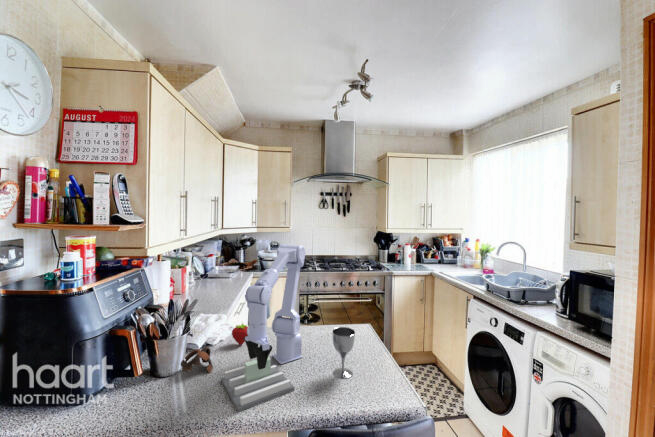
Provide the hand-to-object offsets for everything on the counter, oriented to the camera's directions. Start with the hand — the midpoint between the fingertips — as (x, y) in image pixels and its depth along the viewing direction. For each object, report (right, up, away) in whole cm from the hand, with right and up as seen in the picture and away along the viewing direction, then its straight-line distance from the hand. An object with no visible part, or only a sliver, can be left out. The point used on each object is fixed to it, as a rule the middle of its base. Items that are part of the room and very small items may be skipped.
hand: (257, 363), depth 93 cm
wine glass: (+28, -8, +8) cm, 31 cm away
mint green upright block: (0, -6, 0) cm, 6 cm away
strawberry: (-14, -7, +28) cm, 32 cm away
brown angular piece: (-23, -7, +9) cm, 26 cm away
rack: (0, -7, 0) cm, 7 cm away
